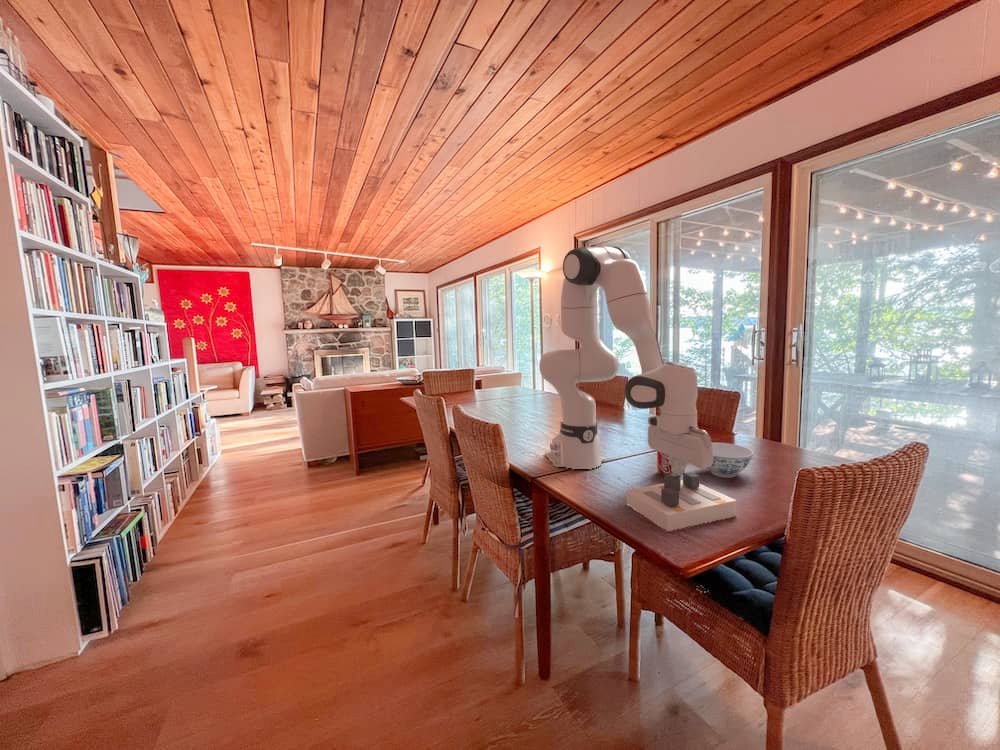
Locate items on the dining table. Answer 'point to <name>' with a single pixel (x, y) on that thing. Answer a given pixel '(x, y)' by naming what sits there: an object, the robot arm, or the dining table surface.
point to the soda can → (664, 465)
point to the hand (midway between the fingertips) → (677, 473)
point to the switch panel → (682, 506)
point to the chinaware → (729, 459)
